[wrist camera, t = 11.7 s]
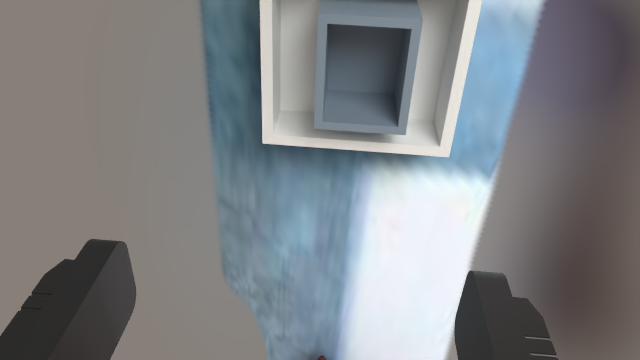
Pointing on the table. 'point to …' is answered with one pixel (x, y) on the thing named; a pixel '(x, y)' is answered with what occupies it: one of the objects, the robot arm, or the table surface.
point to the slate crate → (366, 64)
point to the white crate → (300, 72)
